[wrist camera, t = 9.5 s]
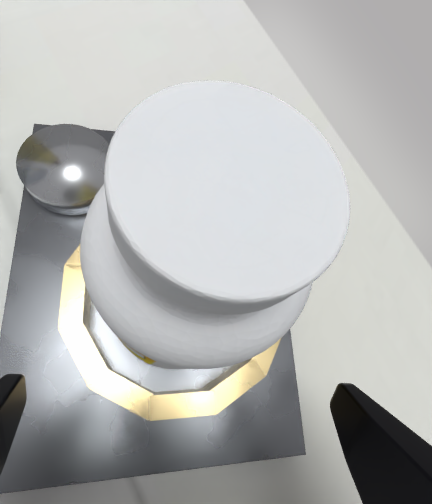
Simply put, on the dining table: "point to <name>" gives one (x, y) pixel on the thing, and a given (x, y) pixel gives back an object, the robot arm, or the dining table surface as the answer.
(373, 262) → the dining table surface
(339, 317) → the dining table surface
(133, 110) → the supplement bottle
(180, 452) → the carrier plate
